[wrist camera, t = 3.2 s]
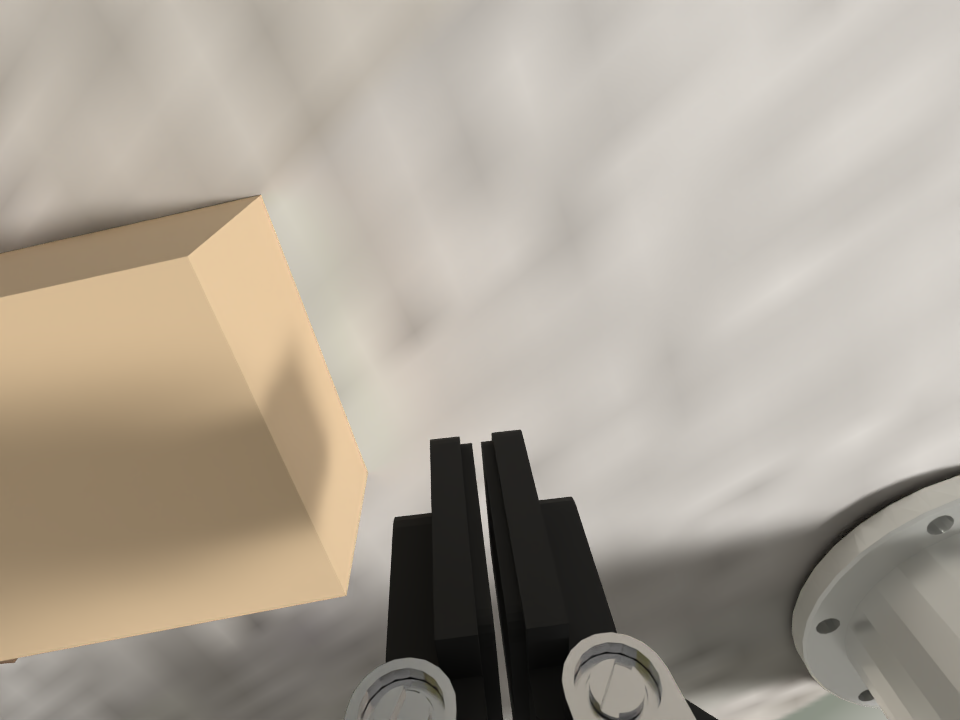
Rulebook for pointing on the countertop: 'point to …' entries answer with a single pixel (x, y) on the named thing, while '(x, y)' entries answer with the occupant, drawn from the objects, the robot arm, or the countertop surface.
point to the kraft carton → (165, 434)
